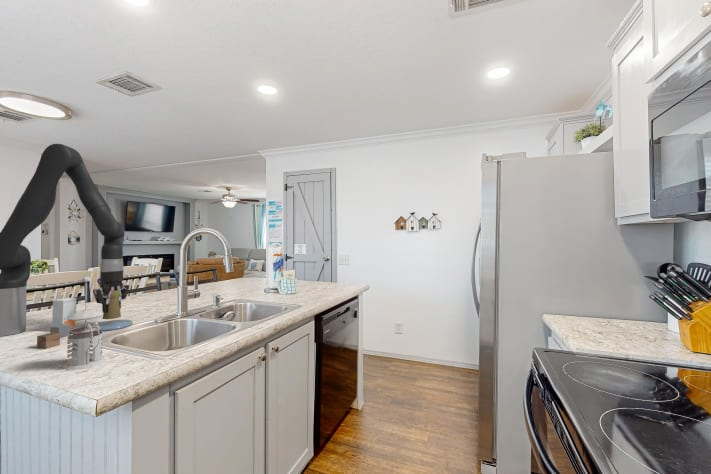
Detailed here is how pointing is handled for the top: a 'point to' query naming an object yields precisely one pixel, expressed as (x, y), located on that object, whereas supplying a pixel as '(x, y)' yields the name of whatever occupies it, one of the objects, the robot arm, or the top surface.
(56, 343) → the walnut block
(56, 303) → the skincare box
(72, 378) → the top surface
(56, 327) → the graphite block
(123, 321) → the slate plate
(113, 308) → the cork
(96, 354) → the french press
